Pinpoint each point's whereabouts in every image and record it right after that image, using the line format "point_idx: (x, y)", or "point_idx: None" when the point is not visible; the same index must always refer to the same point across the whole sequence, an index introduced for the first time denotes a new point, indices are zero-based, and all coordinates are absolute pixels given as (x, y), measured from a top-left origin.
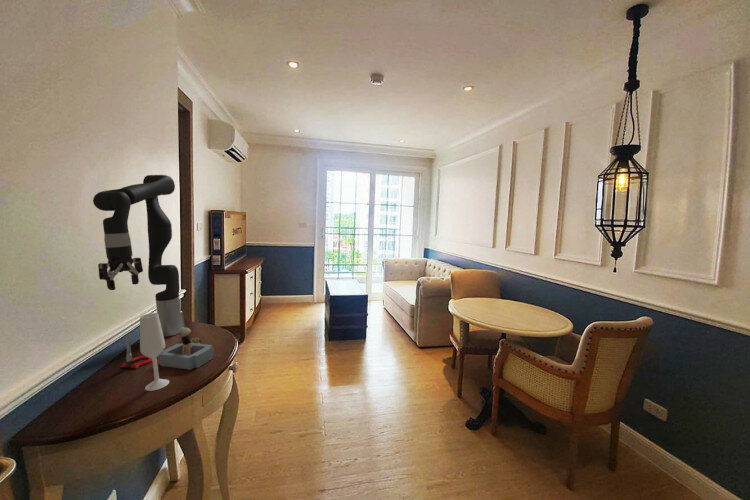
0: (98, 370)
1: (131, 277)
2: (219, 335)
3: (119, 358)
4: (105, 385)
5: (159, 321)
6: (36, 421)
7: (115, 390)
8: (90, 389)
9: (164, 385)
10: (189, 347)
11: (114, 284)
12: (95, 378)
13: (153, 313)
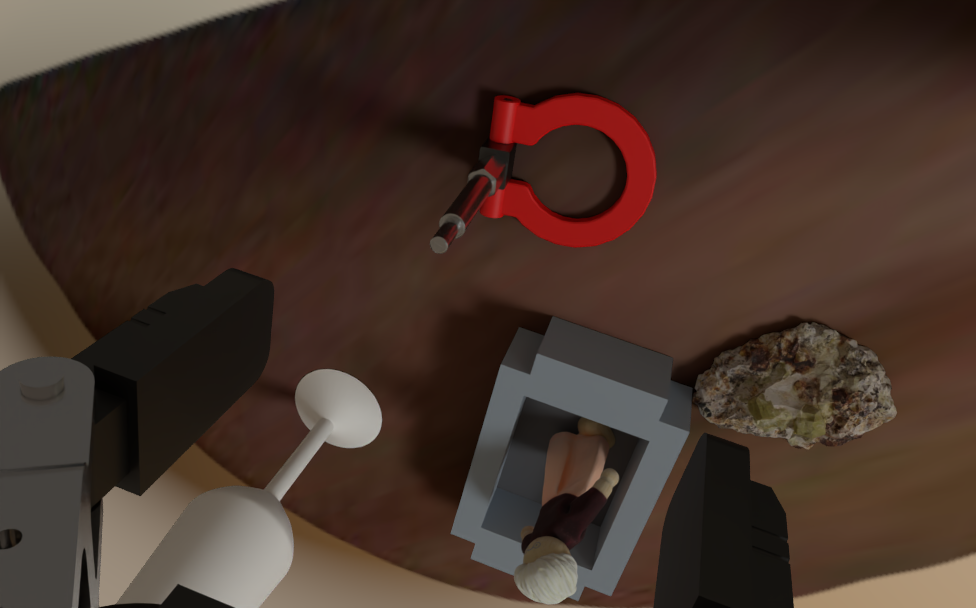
0: None
1: (698, 546)
2: None
3: None
4: (312, 164)
5: None
6: (55, 91)
7: (280, 252)
8: (272, 113)
9: (331, 442)
10: (522, 531)
11: (201, 427)
12: (372, 31)
13: None
